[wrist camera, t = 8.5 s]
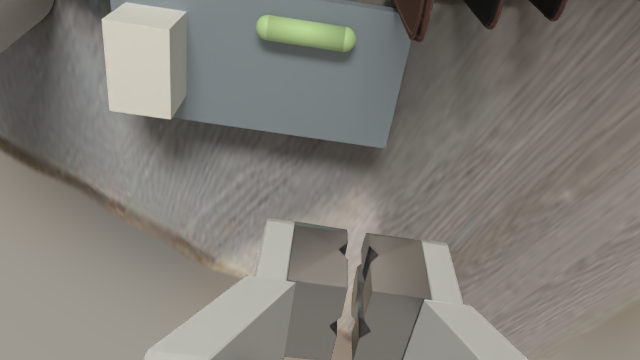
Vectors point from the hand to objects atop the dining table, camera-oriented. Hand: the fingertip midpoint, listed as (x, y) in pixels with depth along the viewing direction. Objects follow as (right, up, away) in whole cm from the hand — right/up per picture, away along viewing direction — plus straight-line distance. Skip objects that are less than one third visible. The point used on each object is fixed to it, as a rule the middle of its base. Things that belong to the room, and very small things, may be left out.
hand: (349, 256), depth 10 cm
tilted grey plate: (-5, +10, +27) cm, 29 cm away
